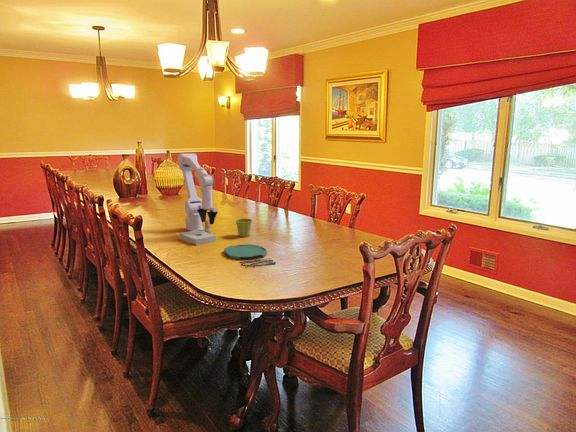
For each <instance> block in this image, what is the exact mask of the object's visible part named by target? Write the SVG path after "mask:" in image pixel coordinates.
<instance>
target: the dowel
mask: <svg viewBox="0 0 576 432" xmlns="http://www.w3.org/2000/svg"><path fill="white" fill-rule="evenodd" d="M204 228H205V230H204V232H207V233H210V234H212V233H211V232H212V231H211V225H210V223H209V220H208V219H206V221H205V222H204Z"/></svg>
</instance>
